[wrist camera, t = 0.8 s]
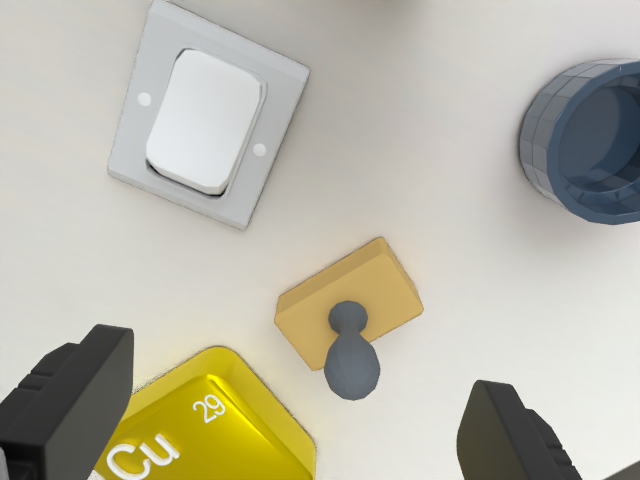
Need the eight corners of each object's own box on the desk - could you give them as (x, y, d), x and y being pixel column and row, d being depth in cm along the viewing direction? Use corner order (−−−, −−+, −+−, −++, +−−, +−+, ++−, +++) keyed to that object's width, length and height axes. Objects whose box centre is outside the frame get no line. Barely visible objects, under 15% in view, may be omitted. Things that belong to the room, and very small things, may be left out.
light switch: (87, 187, 33) (136, -7, 28) (113, 170, 37) (160, -3, 32) (237, 247, 35) (308, 73, 30) (247, 225, 38) (312, 68, 33)
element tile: (201, 517, 48) (188, 564, 44) (95, 416, 44) (68, 457, 40) (325, 451, 45) (324, 495, 41) (223, 336, 41) (211, 370, 37)
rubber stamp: (315, 348, 41) (310, 457, 30) (275, 297, 40) (255, 392, 28) (418, 291, 39) (454, 385, 28) (380, 234, 38) (403, 310, 26)
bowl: (540, 49, 33) (577, 48, 28) (683, 71, 33) (744, 73, 28) (500, 192, 36) (527, 213, 31) (630, 210, 37) (676, 234, 32)
